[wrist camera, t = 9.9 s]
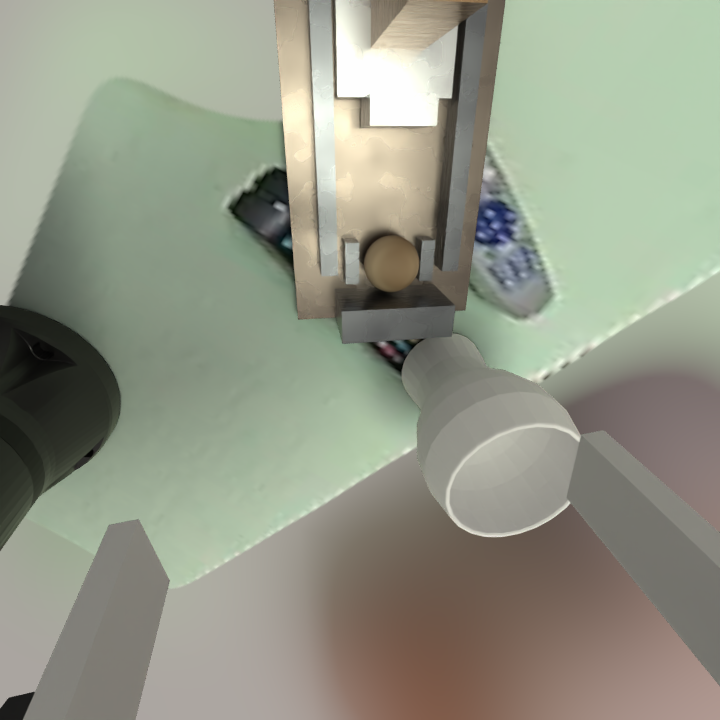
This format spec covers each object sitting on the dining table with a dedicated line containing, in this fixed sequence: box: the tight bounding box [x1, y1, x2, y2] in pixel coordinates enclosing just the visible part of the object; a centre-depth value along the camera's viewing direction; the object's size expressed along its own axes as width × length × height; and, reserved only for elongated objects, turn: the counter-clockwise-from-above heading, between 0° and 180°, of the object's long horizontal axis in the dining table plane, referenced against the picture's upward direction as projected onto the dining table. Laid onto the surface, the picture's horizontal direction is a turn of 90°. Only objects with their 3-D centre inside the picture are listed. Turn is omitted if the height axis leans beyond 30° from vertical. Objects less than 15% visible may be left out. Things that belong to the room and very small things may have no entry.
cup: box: [402, 333, 581, 537], centre depth 32 cm, size 11×11×15 cm
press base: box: [274, 0, 505, 344], centre depth 26 cm, size 14×24×6 cm, turn 0°
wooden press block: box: [333, 0, 488, 128], centre depth 21 cm, size 7×8×10 cm
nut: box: [364, 235, 419, 292], centre depth 29 cm, size 4×4×4 cm
